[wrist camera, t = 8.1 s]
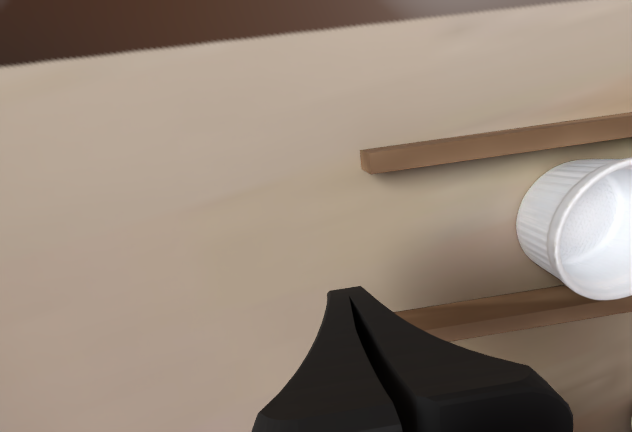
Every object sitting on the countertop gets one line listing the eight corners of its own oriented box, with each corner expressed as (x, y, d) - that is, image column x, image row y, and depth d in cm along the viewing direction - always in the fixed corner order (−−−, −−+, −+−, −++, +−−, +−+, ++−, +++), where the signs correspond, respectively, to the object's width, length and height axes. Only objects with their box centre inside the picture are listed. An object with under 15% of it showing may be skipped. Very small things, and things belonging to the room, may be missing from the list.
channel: (627, 288, 24) (664, 306, 22) (376, 329, 23) (385, 352, 21) (656, 108, 20) (705, 105, 18) (360, 150, 20) (369, 152, 17)
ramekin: (627, 138, 21) (711, 139, 17) (622, 255, 23) (694, 282, 19) (502, 169, 21) (554, 178, 17) (509, 283, 23) (556, 316, 19)
